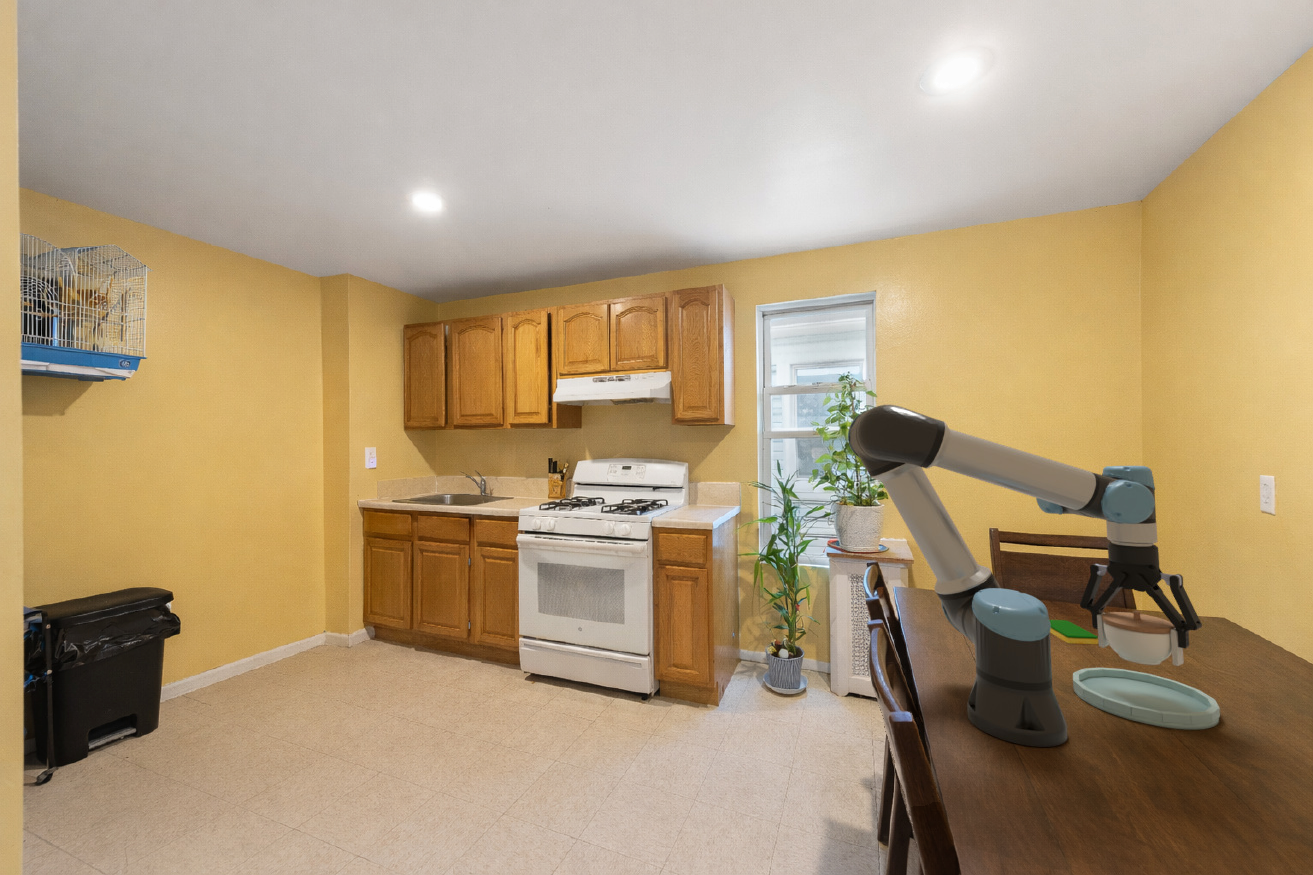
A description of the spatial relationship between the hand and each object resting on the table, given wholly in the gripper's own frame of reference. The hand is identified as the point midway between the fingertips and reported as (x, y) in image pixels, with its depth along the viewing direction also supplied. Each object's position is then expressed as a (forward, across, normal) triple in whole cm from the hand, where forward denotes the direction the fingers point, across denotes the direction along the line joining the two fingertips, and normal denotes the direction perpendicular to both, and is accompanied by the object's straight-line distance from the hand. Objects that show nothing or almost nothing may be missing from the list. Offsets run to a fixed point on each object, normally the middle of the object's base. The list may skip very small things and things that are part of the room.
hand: (1139, 654), depth 104 cm
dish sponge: (+10, +26, -32) cm, 42 cm away
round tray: (+9, 0, 0) cm, 9 cm away
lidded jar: (+1, 0, 0) cm, 1 cm away
